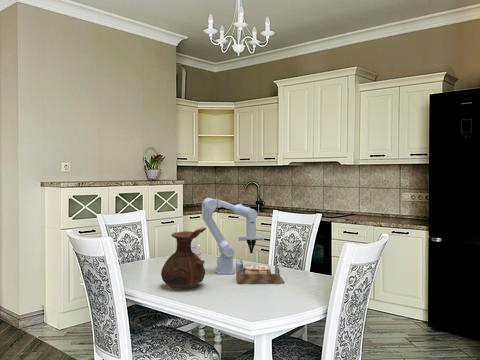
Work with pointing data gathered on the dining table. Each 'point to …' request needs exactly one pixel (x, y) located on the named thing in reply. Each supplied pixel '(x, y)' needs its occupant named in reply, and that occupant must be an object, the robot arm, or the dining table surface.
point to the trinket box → (256, 269)
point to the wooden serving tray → (254, 276)
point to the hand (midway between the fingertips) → (251, 253)
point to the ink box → (196, 248)
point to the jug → (183, 263)
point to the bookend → (278, 273)
